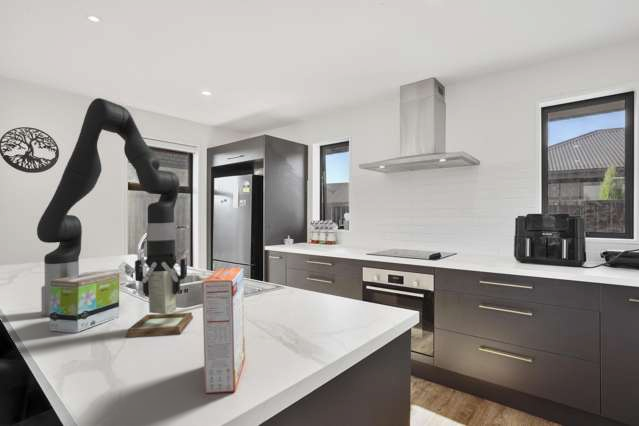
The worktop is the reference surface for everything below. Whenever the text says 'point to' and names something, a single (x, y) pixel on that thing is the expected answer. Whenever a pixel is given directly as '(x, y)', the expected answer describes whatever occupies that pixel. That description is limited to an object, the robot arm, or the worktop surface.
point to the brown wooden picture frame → (160, 324)
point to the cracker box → (223, 329)
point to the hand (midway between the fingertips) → (161, 294)
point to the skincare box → (161, 292)
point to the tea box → (83, 301)
